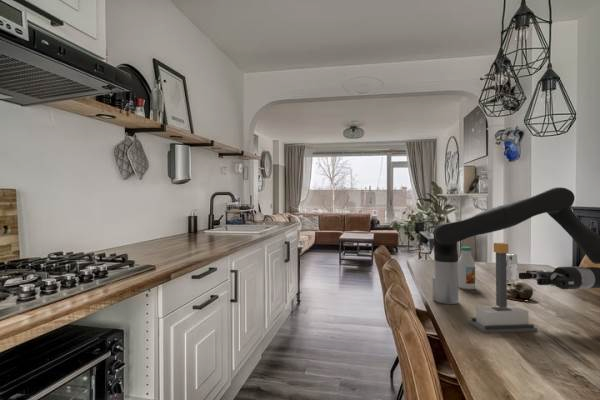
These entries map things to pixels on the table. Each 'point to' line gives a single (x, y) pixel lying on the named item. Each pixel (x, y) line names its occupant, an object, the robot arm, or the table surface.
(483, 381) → the table surface
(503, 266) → the lever
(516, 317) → the breaker base
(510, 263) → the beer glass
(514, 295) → the skull
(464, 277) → the milk bottle
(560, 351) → the table surface
